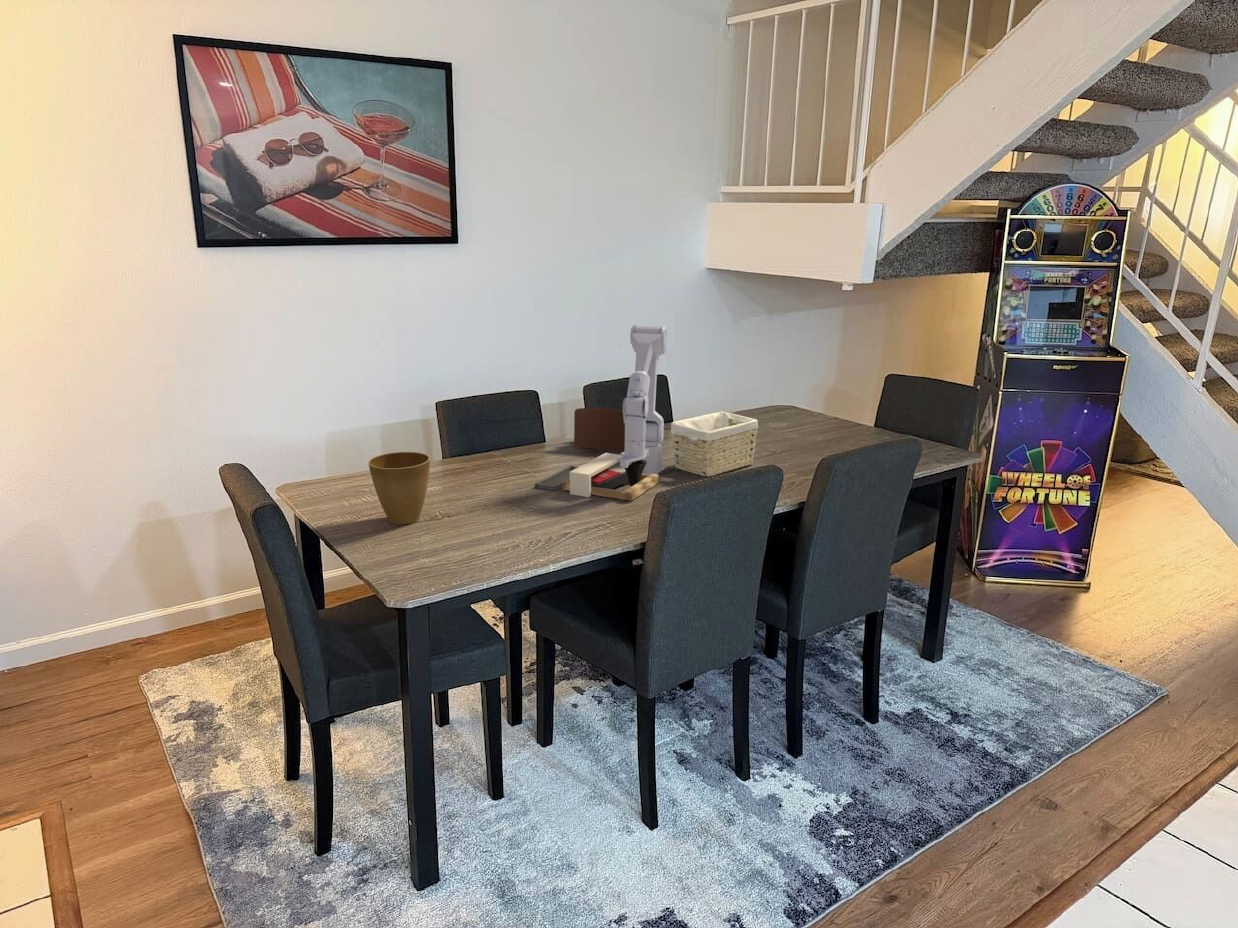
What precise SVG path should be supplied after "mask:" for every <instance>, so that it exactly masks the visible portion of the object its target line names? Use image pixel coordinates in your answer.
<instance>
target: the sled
mask: <svg viewBox="0 0 1238 928" xmlns="http://www.w3.org/2000/svg"><path fill="white" fill-rule="evenodd" d="M657 484H659V474H651V475H646V474H642V475H641V479H640V482H638V483H637V484H635V485H634V486H629V488H627V489H626V490H625V491H623V490H616V489H606V488H598V487H593V486H591V496H592V495H593V496H600V497H606V498H611V499H617V500H624V501H629V502H632V501H633V500H635V499H636V498H638V497H639V496H641V495H643V494H644V493H646V492H647V491H648V490H650V489H652V488H653V487H655V486H656V485H657ZM562 490H563V491H569V492H570V479H569V480H567V481H565V482H563V487H562Z"/></svg>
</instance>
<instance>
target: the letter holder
mask: <svg viewBox="0 0 1238 928" xmlns="http://www.w3.org/2000/svg"><path fill="white" fill-rule="evenodd" d="M573 417H574V418H573V419H574V422H573V423H574V425H573V426H574V427H573V428H574V429H573V440H574V442H573V448H575V447H578V448H577V449H586V448H590V449H589V450H598V449H600V450H601V451H610V450H611V451H613V452H621V453H623V452H625V423H624V416H623V409H622V410H621V409H616V408H615V409H614V408H608V407H607V408H606V407H581V408H576V409H575V410H574V416H573ZM611 451H610V452H611Z"/></svg>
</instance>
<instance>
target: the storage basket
mask: <svg viewBox="0 0 1238 928" xmlns="http://www.w3.org/2000/svg"><path fill="white" fill-rule="evenodd" d="M730 423H734V425H730ZM670 427H671V429H670V432H671V437H672V448H673V452H672V453H673V458H674V467H675V468H676V469H679V470H681V471H685V472H688V473H690V472H691V474H694V473H695V474H694V475H697V474H699V476H700V475H703V476H702V477H705V476H707V478H709V477H714V476H716V475H720V474H724V473H726V472H730V471H733V470H737V469H739V468H743V467H746V466H749V465H752V464H754V456H755V447H756V439H757V434H758V428H759V424H758V420H757V419H756V418H751V417H748V416H744V415H740V414H735V413H733V412H726V411H718V412H713V413H709V414H702V415H699V416H694V417H691V418H690V417H689V418H686V419H685V418H684V419H680V420H676V421H673V422H671V425H670ZM723 472H724V473H723ZM717 473H718V474H717Z"/></svg>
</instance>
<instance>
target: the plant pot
mask: <svg viewBox="0 0 1238 928" xmlns="http://www.w3.org/2000/svg"><path fill="white" fill-rule="evenodd" d="M430 465H431V457H430V455H429V454H426V453H423V452H418V451H397V452H388V453H384V454H380V455H376V456H374V457H372V458H369V460H368V468H369V472H370V476H371V479H372V483H373V486H374V489H375V493H376V494H377V497H378V501H379V502H380V505H381V507H382V510H383V512H384V514H385V516H386V518H387V520H388V522H389V523H390V524H393V525H396V526H397V525H399V526H402V525H403V526H404V525H412V524H414V523H417V522H418V521H419V519H420V517H421V514H422V511H423V507H424V503H425V498H426V495H427V490H428V483H429V475H430Z"/></svg>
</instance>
